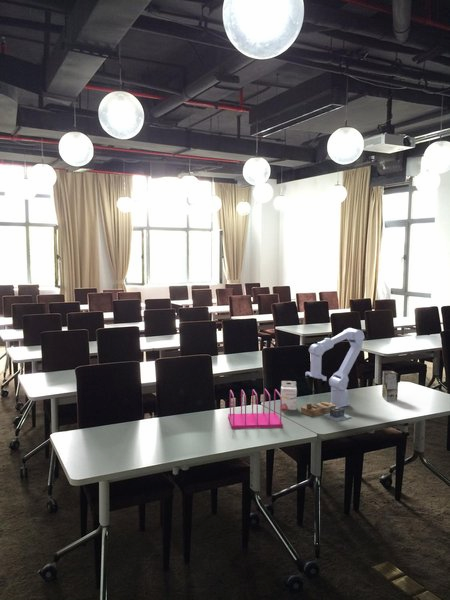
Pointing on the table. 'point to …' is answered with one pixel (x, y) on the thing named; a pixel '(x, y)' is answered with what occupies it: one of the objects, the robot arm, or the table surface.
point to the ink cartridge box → (289, 395)
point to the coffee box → (390, 386)
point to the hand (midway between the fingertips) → (315, 391)
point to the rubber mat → (338, 417)
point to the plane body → (317, 408)
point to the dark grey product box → (337, 412)
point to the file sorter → (255, 415)
